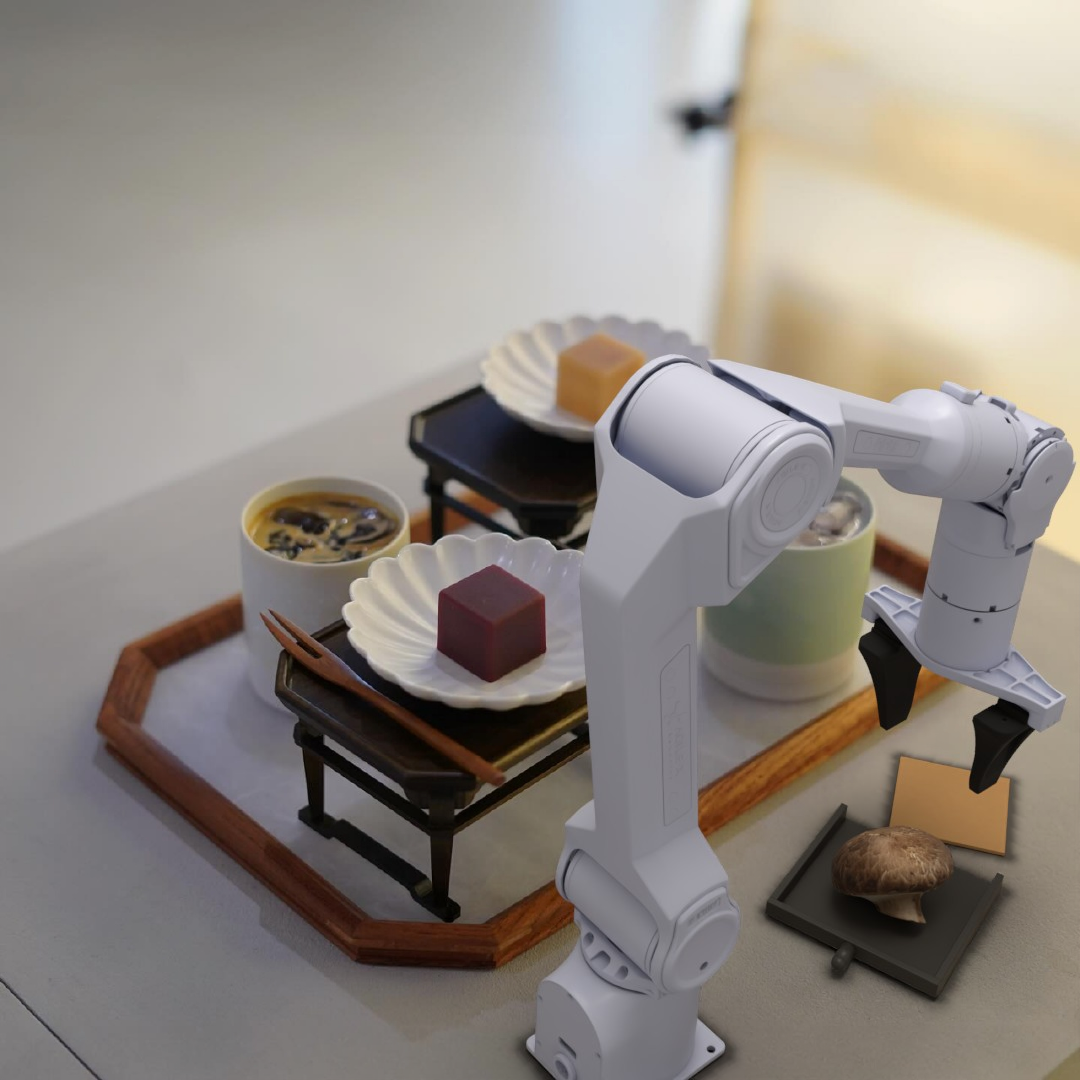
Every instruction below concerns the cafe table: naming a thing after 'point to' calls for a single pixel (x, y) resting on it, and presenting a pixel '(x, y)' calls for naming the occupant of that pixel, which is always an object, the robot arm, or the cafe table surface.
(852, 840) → the mushroom
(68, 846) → the cafe table surface
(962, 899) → the pan
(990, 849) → the mat
